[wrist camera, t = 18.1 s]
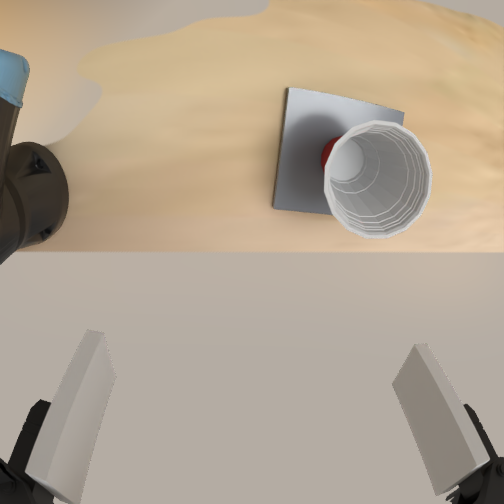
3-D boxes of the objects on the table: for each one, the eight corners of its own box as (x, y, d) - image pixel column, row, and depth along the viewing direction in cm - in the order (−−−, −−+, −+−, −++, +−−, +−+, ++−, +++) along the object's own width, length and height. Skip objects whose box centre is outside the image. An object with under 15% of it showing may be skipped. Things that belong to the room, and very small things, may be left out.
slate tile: (272, 206, 39) (273, 209, 38) (287, 87, 32) (289, 86, 31) (378, 217, 40) (382, 221, 39) (400, 112, 33) (404, 112, 32)
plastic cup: (355, 98, 32) (405, 99, 21) (394, 172, 36) (447, 201, 25) (280, 143, 34) (300, 162, 23) (326, 215, 38) (359, 260, 28)
